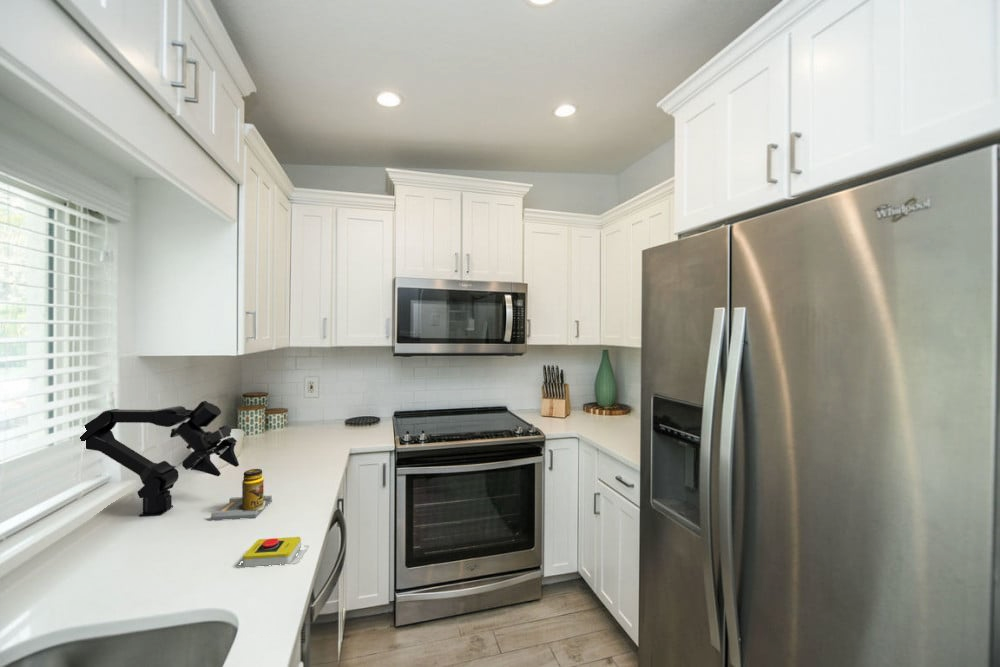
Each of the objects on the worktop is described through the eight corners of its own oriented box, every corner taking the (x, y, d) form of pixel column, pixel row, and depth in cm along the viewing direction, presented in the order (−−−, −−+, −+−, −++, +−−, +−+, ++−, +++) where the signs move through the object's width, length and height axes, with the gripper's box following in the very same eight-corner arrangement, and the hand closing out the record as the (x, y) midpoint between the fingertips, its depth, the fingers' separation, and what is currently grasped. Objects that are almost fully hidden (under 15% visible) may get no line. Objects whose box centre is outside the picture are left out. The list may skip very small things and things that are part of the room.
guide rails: (211, 517, 129) (211, 513, 129) (231, 501, 141) (231, 497, 141) (255, 514, 130) (255, 510, 130) (271, 498, 143) (271, 495, 143)
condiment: (263, 509, 134) (263, 472, 134) (232, 514, 131) (232, 476, 131) (265, 501, 141) (265, 466, 141) (236, 505, 137) (236, 469, 137)
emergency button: (252, 534, 112) (310, 531, 114) (252, 550, 112) (310, 547, 114) (234, 552, 102) (298, 548, 104) (234, 570, 102) (298, 566, 104)
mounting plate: (210, 520, 128) (210, 516, 128) (231, 503, 141) (231, 500, 141) (255, 518, 130) (255, 514, 130) (272, 501, 143) (272, 497, 143)
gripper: (192, 426, 127) (227, 462, 127) (231, 414, 145) (262, 445, 145) (166, 451, 127) (202, 487, 127) (208, 436, 145) (240, 467, 145)
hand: (229, 470), depth 136 cm, fingers open, 9 cm apart
